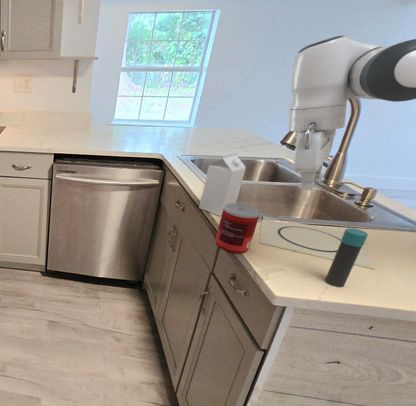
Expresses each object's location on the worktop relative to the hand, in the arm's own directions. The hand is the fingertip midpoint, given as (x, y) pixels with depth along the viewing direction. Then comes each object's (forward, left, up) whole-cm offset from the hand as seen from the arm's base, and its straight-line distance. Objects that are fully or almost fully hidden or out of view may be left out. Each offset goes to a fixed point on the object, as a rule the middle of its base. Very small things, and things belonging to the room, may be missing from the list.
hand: (311, 184), depth 80 cm
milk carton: (+17, -28, -21) cm, 39 cm away
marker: (-9, +2, -21) cm, 23 cm away
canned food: (+11, -4, -21) cm, 24 cm away
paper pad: (-6, -20, -21) cm, 30 cm away
